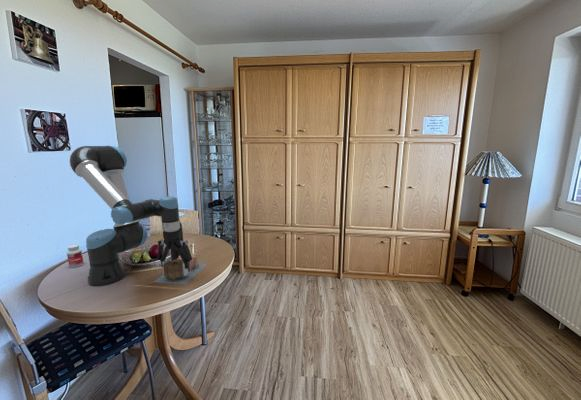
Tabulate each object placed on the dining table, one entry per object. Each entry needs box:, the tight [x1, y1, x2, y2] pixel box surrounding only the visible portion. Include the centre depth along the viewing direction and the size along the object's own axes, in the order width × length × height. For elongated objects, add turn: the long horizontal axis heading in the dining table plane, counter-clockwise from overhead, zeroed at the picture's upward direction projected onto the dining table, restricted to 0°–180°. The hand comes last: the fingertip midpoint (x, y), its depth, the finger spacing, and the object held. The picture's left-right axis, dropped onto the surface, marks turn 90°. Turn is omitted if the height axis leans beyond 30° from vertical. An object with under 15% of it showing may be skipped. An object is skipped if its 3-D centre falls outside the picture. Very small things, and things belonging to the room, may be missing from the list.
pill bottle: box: [66, 244, 84, 268], centre depth 143 cm, size 6×6×11 cm
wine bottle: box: [169, 221, 184, 261], centre depth 147 cm, size 7×7×30 cm
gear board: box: [153, 262, 207, 285], centre depth 133 cm, size 16×22×5 cm
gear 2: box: [177, 252, 198, 271], centre depth 138 cm, size 10×10×7 cm
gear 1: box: [163, 259, 184, 280], centre depth 127 cm, size 10×10×6 cm
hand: (175, 274), depth 128 cm, fingers closed on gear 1, 9 cm apart
